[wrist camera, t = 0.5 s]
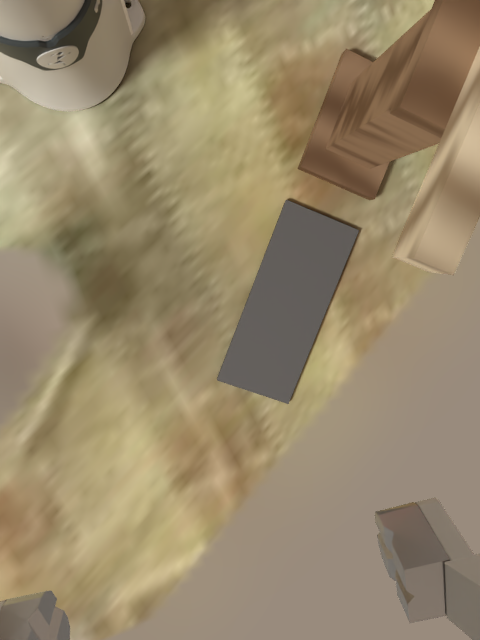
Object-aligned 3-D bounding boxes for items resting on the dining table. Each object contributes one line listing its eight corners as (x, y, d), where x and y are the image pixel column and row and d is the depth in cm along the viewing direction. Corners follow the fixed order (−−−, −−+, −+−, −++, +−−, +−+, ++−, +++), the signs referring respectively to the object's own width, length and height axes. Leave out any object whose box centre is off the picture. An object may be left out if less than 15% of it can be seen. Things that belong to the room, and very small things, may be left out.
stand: (369, 200, 57) (524, 167, 31) (297, 168, 55) (399, 107, 29) (414, 90, 55) (615, -39, 30) (341, 53, 53) (490, -117, 28)
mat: (287, 402, 60) (288, 403, 59) (216, 378, 58) (217, 380, 57) (357, 230, 57) (359, 230, 56) (285, 200, 55) (286, 199, 55)
